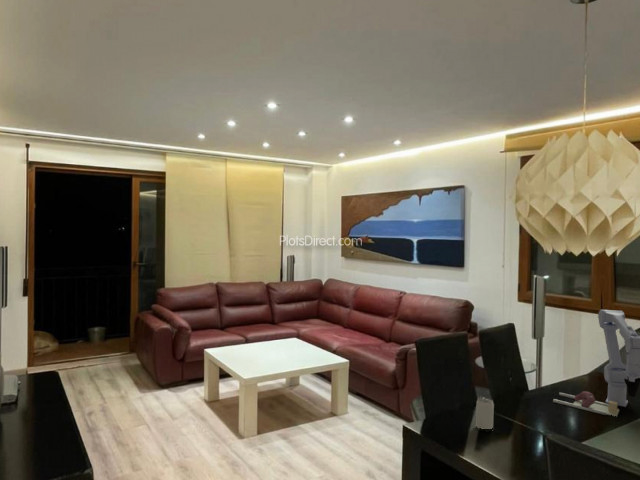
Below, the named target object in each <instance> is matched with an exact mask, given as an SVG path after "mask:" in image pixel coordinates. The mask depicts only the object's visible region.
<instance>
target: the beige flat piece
mask: <svg viewBox="0 0 640 480" xmlns="http://www.w3.org/2000/svg"><path fill="white" fill-rule="evenodd" d="M582 403H583V402H582V400H580V401H576V400H574V402H573V403H572V404H576V405H580V406H581V404H582ZM608 404H609V406H604V405H599V404H595V403H594V404H592V405H590V406H589V407H588V408H592V409H597V410H601V411H605V412H607V414H606V416H607V415H608V416H611V415H612V417H615V416H616V417H615V418H617V417H618V415H619V412H620V409H619V408H618V406H619V405H618V402H614V401H609V403H608Z"/></svg>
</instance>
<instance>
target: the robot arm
mask: <svg viewBox="0 0 640 480" xmlns="http://www.w3.org/2000/svg"><path fill="white" fill-rule="evenodd" d="M597 318H598V324H599V327H600V328H601V329H602V330H603V333H604V339H605V345H606V350H607V355H608V361H609V363H607V364H606V365H605V366H604V368H603V371H604V372H603V376H604V380H605V382H606V383H607V384H608V385H607V398H606V400H605V402H604V403H607V404H609V401H614V402H618V405H617V406H619V407H624V408H626V407H627V405H628V403H629V401H628V399H627V393H628V397H632V398H635V397H636V395H637V393H638V390H639V386H640V335H639V334H638V333H637V332H636V330H635V329H634V328H633V327H632V326H630V325H628V323H627V322H626V321H625V320H626V315H625V312H624V311H623V310H614V309H613V310H611V309H600V310H599V311H598V316H597ZM617 331H618V332H619V334H620V336H621V337H622V339H623V340H624V346H625V352H626V360H625V361H626V362H625V363H626V364H625V363H623V361H622V357H621V351H620V347H619V342H618V335H617Z"/></svg>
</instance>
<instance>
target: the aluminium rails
mask: <svg viewBox="0 0 640 480" xmlns="http://www.w3.org/2000/svg"><path fill="white" fill-rule="evenodd" d="M558 396H560V397H564V398H569V399H572V400H573V399H574V398H575V396H576V395H573V394H568V393H564V392H558ZM574 400H575V399H574ZM582 400H583V399H582ZM552 403H556V404H559V405H563V406H564V405H565V406H567V407H572V408H574V409H580V410H584V411H587V412H591V413H595V414H600V415H604V416H607V412H605V411H601V410H597V409H592V408H588V407H584V406H580V405H576V404H573V403H571V402H568V401H563V400H559V399H556V398H553V400H552ZM595 404H599V405H604V406H609V403H606V402H602V401H598V400H595Z"/></svg>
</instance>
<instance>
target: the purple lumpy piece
mask: <svg viewBox="0 0 640 480" xmlns="http://www.w3.org/2000/svg"><path fill="white" fill-rule="evenodd" d="M574 396H575V398H574V401H580V400H582V399H583V400H582V402H583V403H582V404H581V406H584V407H589V406H590V405H592V404H594V403H595V401H596V398H595V396H594V394H593V393H592V392H590V391H585V390H584V391H581V392H580V393H578V394H576V395H574Z"/></svg>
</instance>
